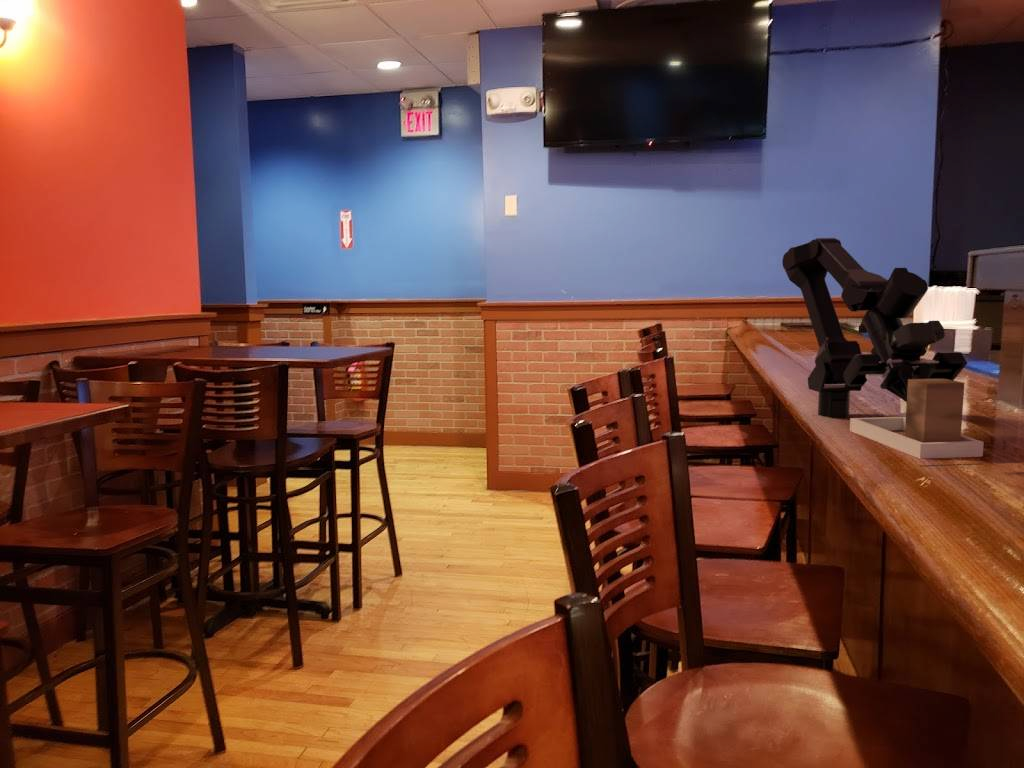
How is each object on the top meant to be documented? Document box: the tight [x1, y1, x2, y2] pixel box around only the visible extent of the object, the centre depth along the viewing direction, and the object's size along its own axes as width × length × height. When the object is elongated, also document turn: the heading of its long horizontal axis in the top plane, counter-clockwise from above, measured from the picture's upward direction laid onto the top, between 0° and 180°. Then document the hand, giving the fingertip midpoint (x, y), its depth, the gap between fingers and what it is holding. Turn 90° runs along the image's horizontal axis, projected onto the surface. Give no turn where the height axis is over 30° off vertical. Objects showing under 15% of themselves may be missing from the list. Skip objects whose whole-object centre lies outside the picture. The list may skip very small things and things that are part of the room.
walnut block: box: [904, 378, 965, 443], centre depth 122 cm, size 5×6×11 cm
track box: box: [849, 416, 985, 468], centre depth 129 cm, size 21×10×4 cm, turn 4°
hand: (923, 410), depth 125 cm, fingers closed, pressing on walnut block
